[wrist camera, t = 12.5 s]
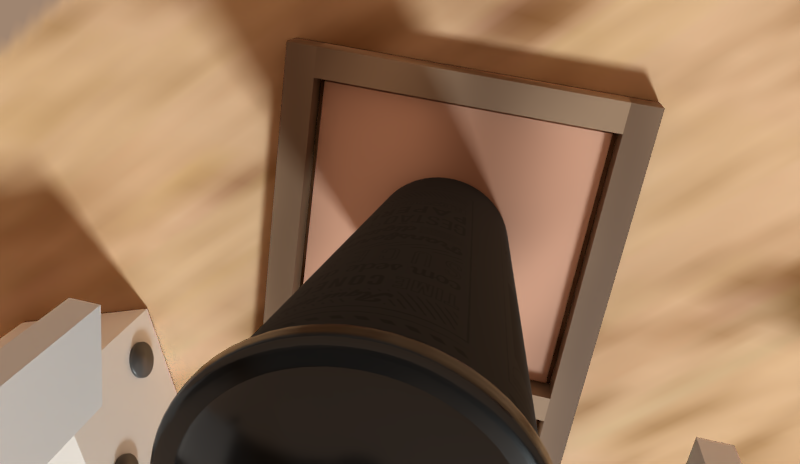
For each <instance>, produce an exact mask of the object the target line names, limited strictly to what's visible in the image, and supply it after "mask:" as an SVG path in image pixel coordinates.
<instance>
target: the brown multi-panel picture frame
mask: <svg viewBox="0 0 800 464" xmlns="http://www.w3.org/2000/svg"><path fill="white" fill-rule="evenodd" d="M321 79H324V80H326V81H325V83H324V92H323V102H322V111H321V121H320V130H319V140H318V149H317V159H316V168H315V178H314V187H313V197H312V206H311V216H310V225H309V235H308V244H307V254H306V263H305V272H304V282H303V284H304V283H305V282H306V281H307V280H308V279H309V278H310V277H311V276H312V275H313V274H314V273H315V272H316V271H317V270H318V269H319V268H320V267H321V266H322V264H323V263H324V262H325V261H326V260H327V259H328V258H329V257H330V256H331V255H332V254H333V253H334V252H335V251H336V250H337V249H338V248H339V247H340V246H341V245H342V244H343V243H344V242H345V241H346V240H347V239H348V238H349V237H350V236H351V235H352V234H353V233H354V232H355V231H356V230H357V229H358V228H359V227H360V226H361V225H362V224H363V223H364V222H365V221H366V220H367V219H368V218H369V217H370V216H371V215H372V214H373V213H374V212H375V211H376V210H377V209H378V208H379V207H380V206H381V205H382V204H383V203H384V202H385V201H386V200H387V199H388V198H389V197H390V196H391V195H392V194H393V193H394V192H395V191H396V190H398V189H399V188H401V187H403V186H404V185H406V184H408V183H411V182H413V181H416V180H420V179H424V178H432V177H441V178H450V179H455V180H458V181H461V182H464V183H466V184H469V185H471V186H473V187H474V188H476V189H478V190H479V191H480V192H482V193H483V194H484V195H485V196H487V197H488V198H489V199H490V200H491V202H492V203H493V204H494V205H495V206H496V208H497V209H498V211H499V212H500V214H501V216H502V218H503V221H504V223H505V226H506V230H507V235H508V242H509V248H510V255H511V261H512V268H513V274H514V281H515V287H516V294H517V300H518V307H519V313H520V320H521V326H522V333H523V339H524V346H525V352H526V359H527V365H528V372H529V378H530V385H531V391H532V398H533V404H534V411H535V417H536V419H537V420H540V421H539V425H538V429H537V430H538V436H539V438H540V440H541V441H542V443H543V445H544V446H545V448H546V450H547V452H548V454H549V456H550V459H551V461H552V463H553V464H561V460H562V457H563V453H564V450H565V447H566V443H567V440H568V436H569V433H570V430H571V426H572V423H573V419H574V416H575V412H576V409H577V406H578V402H579V399H580V395H581V392H582V389H583V385H584V382H585V378H586V375H587V372H588V368H589V365H590V361H591V358H592V355H593V351H594V348H595V344H596V341H597V337H598V334H599V331H600V327H601V324H602V320H603V317H604V314H605V310H606V307H607V303H608V300H609V297H610V293H611V290H612V286H613V283H614V280H615V276H616V273H617V269H618V266H619V262H620V259H621V256H622V252H623V249H624V245H625V242H626V239H627V235H628V232H629V228H630V225H631V222H632V218H633V215H634V211H635V208H636V204H637V201H638V198H639V194H640V191H641V187H642V184H643V181H644V177H645V174H646V170H647V167H648V164H649V160H650V157H651V153H652V150H653V147H654V143H655V140H656V136H657V133H658V129H659V126H660V123H661V119H662V116H663V112H664V107H663V106H662V105H661V104H660V103H659V102H654V101H649V100H643V99H638V98H632V97H626V96H621V95H615V94H609V93H604V92H598V91H593V90H587V89H581V88H576V87H570V86H564V85H559V84H553V83H548V82H542V81H536V80H531V79H525V78H519V77H514V76H508V75H503V74H497V73H491V72H486V71H480V70H474V69H469V68H463V67H458V66H452V65H446V64H441V63H435V62H429V61H424V60H418V59H413V58H407V57H401V56H396V55H390V54H384V53H379V52H373V51H368V50H362V49H356V48H351V47H345V46H339V45H334V44H328V43H323V42H317V41H311V40H306V39H300V38H294V39H292V40H289V41H287V45H286V57H285V69H284V81H283V93H282V105H281V117H280V129H279V141H278V153H277V165H276V177H275V189H274V201H273V213H272V225H271V237H270V249H269V261H268V273H267V285H266V297H265V309H264V321H263V324H264V323H265V322H266V321H267V320H268V319H269V318H270V317H271V316H272V315H273V314H274V313H275V312H276V311H277V310H278V309H279V308H280V307H281V306H282V305H283V304H284V303H285V302H286V301H287V300H288V299H289V298H290V297H291V296H292V295H293V294H294V293H295V292H296V291H297V290H298V289H299V288H300V280H301V271H302V261H303V251H304V242H305V232H306V222H307V213H308V203H309V193H310V184H311V174H312V164H313V155H314V145H315V135H316V126H317V116H318V107H319V97H320V87H321ZM612 132H613V133H618V134H617V137H616V141H615V145H614V148H613V152H612V156H611V159H610V163H609V167H608V171H607V174H606V178H605V182H604V185H603V189H602V193H601V196H600V200H599V204H598V207H597V211H596V215H595V218H594V222H593V226H592V230H591V233H590V237H589V241H588V244H587V248H586V252H585V255H584V259H583V263H582V266H581V270H580V274H579V277H578V281H577V285H576V289H575V292H574V296H573V300H572V303H571V307H570V311H569V314H568V318H567V322H566V325H565V329H564V333H563V336H562V340H561V344H560V348H559V351H558V355H557V359H556V362H555V366H554V370H553V373H552V377H551V381H550V384H549V383H546V380H547V376H548V372H549V368H550V365H551V361H552V357H553V354H554V350H555V346H556V342H557V339H558V335H559V331H560V327H561V324H562V320H563V316H564V313H565V309H566V305H567V301H568V298H569V294H570V290H571V286H572V283H573V279H574V275H575V272H576V268H577V264H578V260H579V257H580V253H581V249H582V245H583V242H584V238H585V234H586V231H587V227H588V223H589V219H590V216H591V212H592V208H593V204H594V201H595V197H596V193H597V190H598V186H599V182H600V178H601V175H602V171H603V167H604V164H605V160H606V156H607V152H608V149H609V145H610V141H611V137H612ZM531 379H532V380H531ZM535 380H536V381H535ZM540 381H541V382H540ZM544 382H545V383H544Z"/></svg>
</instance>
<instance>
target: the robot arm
mask: <svg viewBox="0 0 800 464" xmlns="http://www.w3.org/2000/svg"><path fill="white" fill-rule="evenodd" d="M101 407H102V351H101V305H100V304H96V303H91V302H87V301H82V300H78V299H73V298H68V299H66V300H65V301H64V302H62V303H61V304H60V305H58V306H57V307H56V308H54V309H53V310H52V311H50V312H49V313H48V314H46V315H45V316H44V317H42V318H41V319H40V320H38V321H37V322H35V323H34V324H33V325H31V326H30V327H29V328H27V329H26V330H25V331H23V332H22V333H21V334H19V335H18V336H17V337H15V338H14V339H13V340H11V341H10V342H9V343H7V344H6V345H5V346H3V347H2V348H1V349H0V464H47V463H48V462H49V461H50V460H51V459H52V458H53V457H54V456H55V455H56V454H57V453H58V452H59V451H60V450H61V449H62V448H63V447H64V446H65V444H66V443H67V442H68V441H69V440H70V439H71V438H72V437H73V436H74V435H75V434H76V433H77V432H78V431H79V430H80V429H81V428H82V427H83V425H84V424H85V423H86V422H87V421H88V420H89V419H90V418H91V417H92V416H93V415H94V414H95V413H96V412H97V411H98V410H99V409H100V408H101ZM686 464H742V463H741V460H740V458H739V455H738V453H737V451H736V448H735V446H734V445H729V444H725V443H720V442H716V441H711V440H707V439H702V438H698V437H696V439H695V442H694V445H693V447H692V450H691V453H690V455H689V458H688V461H687V463H686Z"/></svg>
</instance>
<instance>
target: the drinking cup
mask: <svg viewBox="0 0 800 464" xmlns="http://www.w3.org/2000/svg"><path fill="white" fill-rule="evenodd" d="M150 464H553V463H552V461H551V459H550V456H549V454H548V452H547V450H546V448H545V446H544V445H543V443H542V441H541V440H540V438H539V436H538V430H537V424H536V417H535V411H534V404H533V398H532V391H531V385H530V378H529V372H528V365H527V359H526V352H525V346H524V339H523V333H522V326H521V320H520V313H519V307H518V300H517V294H516V287H515V281H514V274H513V268H512V261H511V255H510V248H509V242H508V235H507V230H506V226H505V223H504V221H503V218H502V216H501V214H500V212H499V211H498V209H497V208H496V206H495V205H494V204H493V203H492V202H491V200H490V199H489V198H488V197H487V196H485V195H484V194H483V193H482V192H480V191H479V190H478V189H476V188H474V187H473V186H471V185H469V184H466V183H464V182H461V181H458V180H455V179H450V178H441V177H432V178H424V179H420V180H416V181H413V182H411V183H408V184H406V185H404V186H403V187H401V188H399V189H398V190H396V191H395V192H394V193H393V194H392V195H391V196H390V197H389V198H388V199H387V200H386V201H385V202H384V203H383V204H382V205H381V206H380V207H379V208H378V209H377V210H376V211H375V212H374V213H373V214H372V215H371V216H370V217H369V218H368V219H367V220H366V221H365V222H364V223H363V224H362V225H361V226H360V227H359V228H358V229H357V230H356V231H355V232H354V233H353V234H352V235H351V236H350V237H349V238H348V239H347V240H346V241H345V242H344V243H343V244H342V245H341V246H340V247H339V248H338V249H337V250H336V251H335V252H334V253H333V254H332V255H331V256H330V257H329V258H328V259H327V260H326V261H325V262H324V263H323V264H322V266H321V267H320V268H319V269H318V270H317V271H316V272H315V273H314V274H313V275H312V276H311V277H310V278H309V279H308V280H307V281H306V282H305V283H304V284H303V285H302V286H301V287H300V288H299V289H298V290H297V291H296V292H295V293H294V294H293V295H292V296H291V297H290V298H289V299H288V300H287V301H286V302H285V303H284V304H283V305H282V306H281V307H280V308H279V309H278V310H277V311H276V312H275V313H274V314H273V315H272V316H271V317H270V318H269V319H268V320H267V321H266V322H265V323H264V324H263V325H262V326H261V327H260V328H259V329H258V330H257V331H256V332H255V333H254V334H253V335H252V336H251V337H250V338H248V339H246V340H244V341H242V342H240V343H237V344H235V345H233V346H231V347H229V348H228V349H226V350H224V351H223V352H221V353H219V354H218V355H216V356H215V357H213V358H212V359H211V360H210V361H208V362H207V363H206V364H204V365H203V366H202V367H201V368H200V369H199V370H198V371H197V372H196V373H195V374H194V375H193V376H192V377H191V378H190V379H189V380H188V381H187V382H186V383H185V385H184V386H183V387H182V388H181V390H180V391H179V392H178V394H177V395H176V396H175V397H174V399H173V400H172V402H171V403H170V405H169V407H168V408H167V410H166V412H165V413H164V415H163V417H162V420H161V422H160V424H159V427H158V429H157V432H156V436H155V439H154V442H153V447H152V454H151V460H150Z"/></svg>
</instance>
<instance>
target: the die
mask: <svg viewBox="0 0 800 464" xmlns="http://www.w3.org/2000/svg"><path fill="white" fill-rule="evenodd" d="M35 322H37V321H33V322H24V323H21V324H20V325H18V326H17V327H16V328H14V329H13V330H11V331H10V332H9V333H7V334H6V335H4V336H3V337H2V338H0V349H1V348H2V347H3V346H5V345H6V344H7V343H9V342H10V341H11V340H13V339H14V338H15V337H17V336H18V335H19V334H21V333H22V332H23V331H25V330H26V329H27V328H29V327H30V326H31V325H33V324H34V323H35ZM101 351H102V407H101V408H100V409H99V410H98V411H97V412H96V413H95V414H94V415H93V416H92V417H91V418H90V419H89V420H88V421H87V422H86V423H85V424H84V425H83V427H82V428H81V429H80V430H79V431H78V432H77V433H76V434H75V435H74V436H73V437H72V438H71V439H70V440H69V441H68V442H67V443H66V444H65V446H64V447H63V448H62V449H61V450H60V451H59V452H58V453H57V454H56V455H55V456H54V457H53V458H52V459H51V460H50V461H49V462H48V463H47V464H150V460H151V454H152V447H153V442H154V439H155V436H156V432H157V429H158V427H159V424H160V422H161V420H162V417H163V415H164V413H165V412H166V410H167V408H168V407H169V405H170V403H171V402H172V400H173V399H174V397H175V396H176V395H177V392H176V389H175V387H174V384H173V381H172V378H171V375H170V372H169V369H168V367H167V364H166V361H165V358H164V355H163V352H162V349H161V347H160V344H159V341H158V338H157V335H156V332H155V329H154V327H153V324H152V321H151V318H150V315H149V312H148V309H138V310H130V311H121V312H112V313H103V314H101Z"/></svg>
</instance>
